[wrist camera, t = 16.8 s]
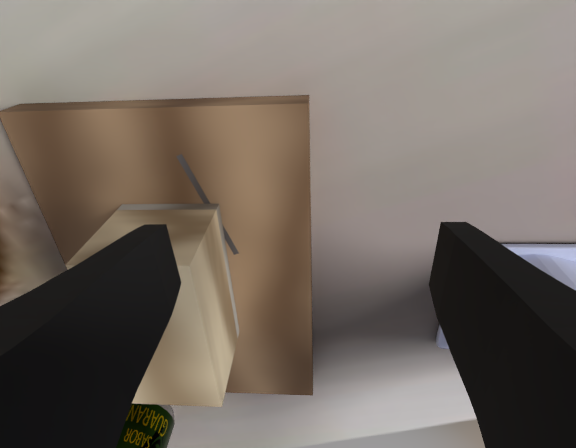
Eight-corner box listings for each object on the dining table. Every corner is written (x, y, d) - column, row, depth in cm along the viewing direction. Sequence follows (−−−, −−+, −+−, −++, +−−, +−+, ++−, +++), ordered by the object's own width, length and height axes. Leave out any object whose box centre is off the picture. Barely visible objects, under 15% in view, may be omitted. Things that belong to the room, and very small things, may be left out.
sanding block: (219, 203, 18) (189, 265, 14) (239, 331, 23) (221, 406, 19) (122, 204, 19) (65, 264, 15) (161, 329, 24) (126, 403, 19)
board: (309, 95, 17) (308, 103, 16) (313, 376, 27) (312, 395, 26) (20, 104, 18) (-3, 112, 17) (129, 371, 28) (120, 388, 27)
